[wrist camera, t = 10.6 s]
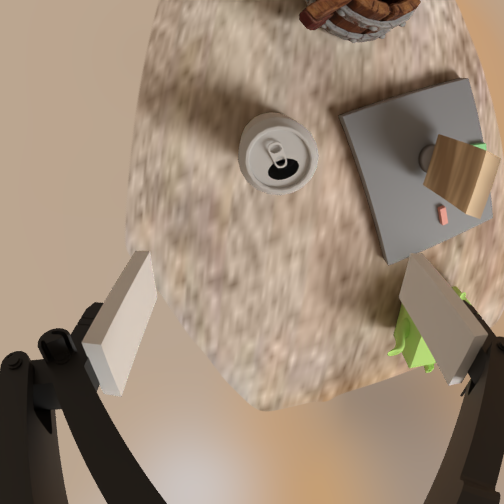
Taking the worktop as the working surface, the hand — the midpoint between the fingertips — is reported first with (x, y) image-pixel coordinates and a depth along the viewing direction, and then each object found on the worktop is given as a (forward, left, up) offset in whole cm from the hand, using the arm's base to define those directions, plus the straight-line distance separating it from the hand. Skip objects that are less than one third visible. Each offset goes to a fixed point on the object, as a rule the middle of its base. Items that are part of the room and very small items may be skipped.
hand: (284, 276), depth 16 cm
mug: (-15, +17, -27) cm, 35 cm away
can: (-2, +2, -27) cm, 27 cm away
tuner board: (+9, +21, -27) cm, 35 cm away
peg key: (+9, +24, -25) cm, 35 cm away
